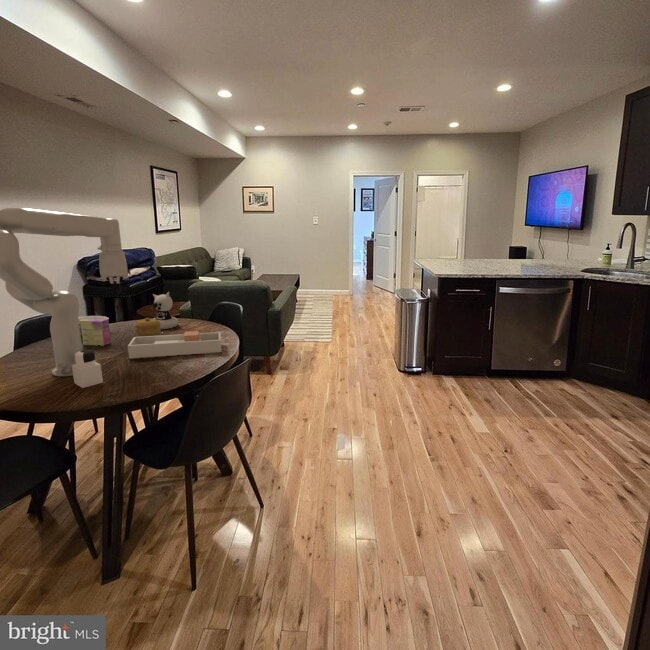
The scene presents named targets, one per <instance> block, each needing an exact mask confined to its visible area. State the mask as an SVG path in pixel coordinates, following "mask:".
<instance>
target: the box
mask: <svg viewBox="0 0 650 650" xmlns="http://www.w3.org/2000/svg"><path fill="white" fill-rule="evenodd" d="M80 322H81V330H82V337H81V339H82V346H83V345H84V346H98V345H100V347H101V346H103V347H105V346H107V345H109V344H111V342H112V341H111V332H110V330H111V329H110V323H109V322H110V321H109V319H91V318H87V319H84V320H81V321H80ZM106 344H107V345H106ZM104 345H105V346H104Z"/></svg>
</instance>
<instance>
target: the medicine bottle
mask: <svg viewBox="0 0 650 650" xmlns="http://www.w3.org/2000/svg"><path fill="white" fill-rule="evenodd" d="M75 359H76V364H74V365H72V370H73V375H72V377H73V383H74V384H75V385H76V386H79V387H80V388H81V389H84V388H88V387H93V386H95V385H99V384H103V383H104V380H103V372H102V365H101V363H98V362H96V355H95V351H93V350H91V349H85V350H84V349H83V351H79V352H77V353H76V354H75Z"/></svg>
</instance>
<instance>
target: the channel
mask: <svg viewBox="0 0 650 650" xmlns="http://www.w3.org/2000/svg"><path fill="white" fill-rule="evenodd" d="M184 334H185V333H182V334H181V333H180V334H165V335H161V334H160V335H158V336H143V337H139V336H134V337H132V339H131V341H130V342H129V343H128V344H127V353H128V359H129V360H140V358H143V359H155V357H158V358H167V357H166V356H173V357H178V356H177V355H187V356H191V355H190V354H202V355H206V354H205V353H217V354H221V353H220V352H222V353H223V350H222V348H221V347H222V332H221V331H218V332H217V331H215V332H201V333H200V332H199V341H189V342H184Z"/></svg>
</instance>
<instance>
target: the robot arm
mask: <svg viewBox="0 0 650 650" xmlns="http://www.w3.org/2000/svg"><path fill="white" fill-rule="evenodd" d="M15 234H29V235H43V236H53V237H54V236H56V237H86V238H100V239H99V240H100V245H98V246H97V250H99V251H101V252H99V258H98V263H99V274H100V279H102V280H106V281H108V282H109V284H111V289H112V290H111V291H112V292H113V293H114V294H119V293H120V291H121V289H122V288H121V283H122V281H123V280H127V279H129V277H130V276H129V271H128V270H129V269H128V263H127V259H126V255H125V252H124V251H123V249H122V241H121V230H120V223H119V220H118V219H117V218H110V217H107V218H106V217H100V216H92V215H83V214H77V213H76V214H74V213H69V212H67V213H66V212H61V211H51V210H45V209H44V210H43V209H36V208H29V207H5V208H2V209H0V279H1V280H2V281H4V282H5V284H4V285H5V290H6V292H7V293H8V294H9V295H10V297H11V298H13V299H15V300H17V301H18V302H20V303H21V304H23V305H24V306H26V307H28V308H29V309H32V310H33V311H35V312H37V313H40V314H44V315H49V316H50V315H51V320H50V323H49V332H50V336H51V342H52V348H53V356H54V360H55V361H54V362H55V363H54V364H55V367H54V368H53V369H52V370H51V374H52V375H53V376H55V377H73V370H72V365H74V364H76V359H75V354H76V353H77V352H79V351H83V350H84V349H83V340H82V337H81V334H80V328H79V317H80V316H79V315H80V314H79V312H80V301H79V299H78V297H77V295H75V294H74V293H73V292H70V291H67V290H62V289H54V287H53V284H52V282H51V281H50V280H49V279H48V278H47V277H45V276H44V275H42V274H41V273H39V272H38V271H36V270H35V269H34V268H32V267H31V266H29V265H28V264H26V263H25V262H24V261H23V259H22V257H21V255H20V254H21V253H20V243H19V240H18V238H17V236H16V235H15ZM115 277H116V280H115Z"/></svg>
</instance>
